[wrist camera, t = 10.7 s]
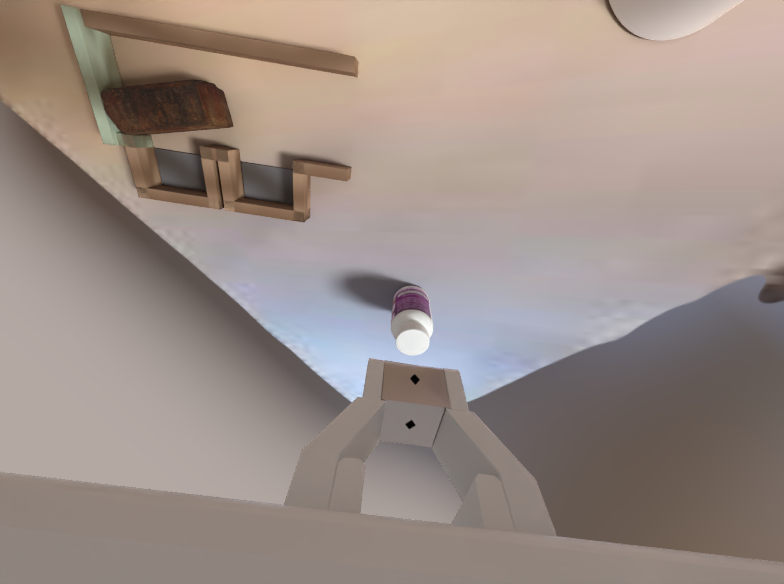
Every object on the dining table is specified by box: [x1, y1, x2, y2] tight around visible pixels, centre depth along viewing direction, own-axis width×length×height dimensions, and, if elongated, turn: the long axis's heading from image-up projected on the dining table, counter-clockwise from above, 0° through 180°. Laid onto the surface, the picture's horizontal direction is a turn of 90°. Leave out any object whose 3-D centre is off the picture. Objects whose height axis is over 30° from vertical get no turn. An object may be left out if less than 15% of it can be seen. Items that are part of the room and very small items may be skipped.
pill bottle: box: [391, 286, 433, 355], centre depth 38 cm, size 5×5×10 cm
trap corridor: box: [61, 5, 358, 222], centre depth 31 cm, size 16×26×3 cm, turn 82°
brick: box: [101, 80, 233, 135], centre depth 30 cm, size 11×4×5 cm, turn 94°
